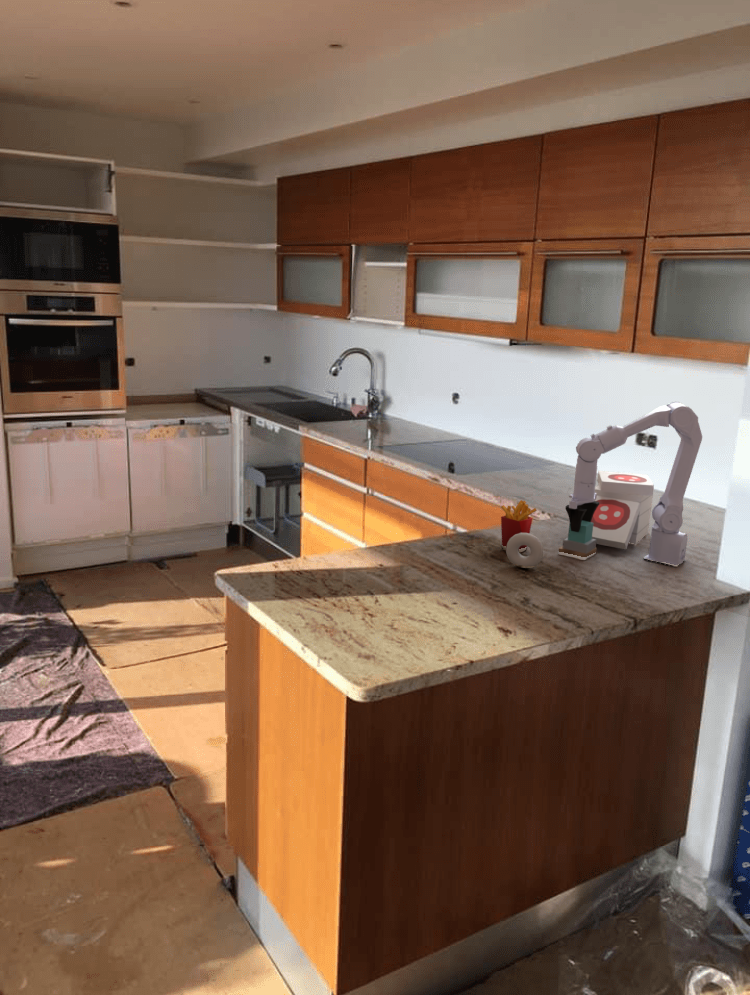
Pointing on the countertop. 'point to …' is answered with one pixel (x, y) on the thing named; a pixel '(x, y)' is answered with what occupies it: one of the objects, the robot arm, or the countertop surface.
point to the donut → (529, 541)
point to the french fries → (516, 521)
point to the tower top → (579, 545)
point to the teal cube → (582, 533)
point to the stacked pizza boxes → (622, 508)
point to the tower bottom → (577, 552)
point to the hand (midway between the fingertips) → (580, 528)
